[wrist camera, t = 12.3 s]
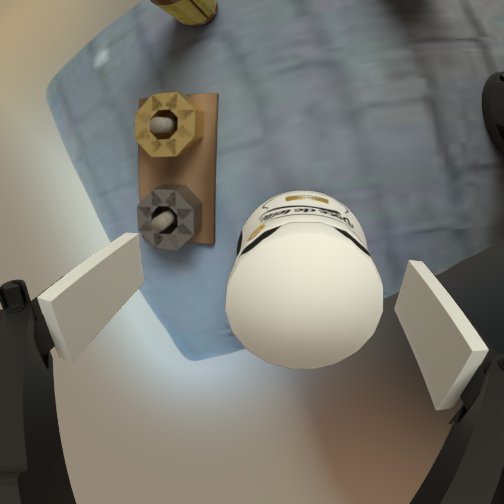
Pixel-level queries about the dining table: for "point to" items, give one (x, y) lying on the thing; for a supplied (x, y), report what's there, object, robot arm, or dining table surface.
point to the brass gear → (187, 124)
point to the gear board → (185, 168)
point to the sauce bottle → (189, 10)
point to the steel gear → (181, 204)
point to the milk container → (303, 282)
